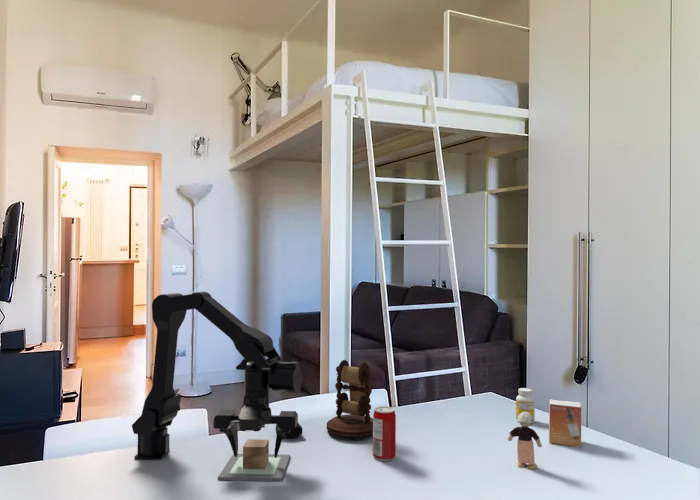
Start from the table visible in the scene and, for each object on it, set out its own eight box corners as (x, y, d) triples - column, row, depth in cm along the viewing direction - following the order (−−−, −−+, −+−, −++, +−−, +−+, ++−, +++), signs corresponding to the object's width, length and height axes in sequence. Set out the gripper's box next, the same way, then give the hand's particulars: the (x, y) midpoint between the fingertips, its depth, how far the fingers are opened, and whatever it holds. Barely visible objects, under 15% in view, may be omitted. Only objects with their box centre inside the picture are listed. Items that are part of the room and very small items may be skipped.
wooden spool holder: (388, 430, 150) (389, 359, 150) (361, 445, 137) (362, 368, 138) (345, 421, 157) (345, 354, 158) (315, 435, 145) (316, 362, 145)
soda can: (398, 455, 130) (398, 406, 131) (390, 462, 125) (391, 412, 126) (377, 451, 133) (378, 403, 133) (369, 459, 128) (369, 409, 128)
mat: (217, 479, 115) (217, 476, 115) (233, 456, 129) (233, 453, 129) (281, 480, 115) (281, 477, 115) (290, 457, 129) (290, 454, 129)
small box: (548, 443, 140) (548, 403, 140) (549, 437, 145) (549, 398, 145) (581, 447, 137) (581, 407, 137) (580, 441, 142) (580, 401, 142)
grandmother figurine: (541, 464, 125) (541, 411, 125) (541, 471, 121) (542, 415, 122) (507, 460, 127) (508, 408, 128) (507, 466, 124) (507, 412, 124)
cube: (242, 468, 119) (243, 446, 120) (247, 460, 124) (247, 439, 125) (264, 469, 119) (264, 447, 119) (268, 460, 124) (268, 439, 124)
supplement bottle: (530, 425, 155) (530, 392, 156) (513, 421, 159) (513, 389, 159) (537, 421, 160) (537, 389, 160) (519, 417, 163) (519, 386, 163)
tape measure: (303, 438, 142) (303, 425, 142) (277, 441, 140) (278, 427, 140) (297, 431, 149) (297, 417, 149) (273, 433, 147) (273, 419, 147)
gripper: (206, 397, 114) (205, 470, 114) (292, 399, 114) (291, 471, 114) (220, 385, 125) (219, 451, 125) (298, 386, 125) (297, 452, 125)
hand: (256, 456), depth 122 cm, fingers open, 9 cm apart
